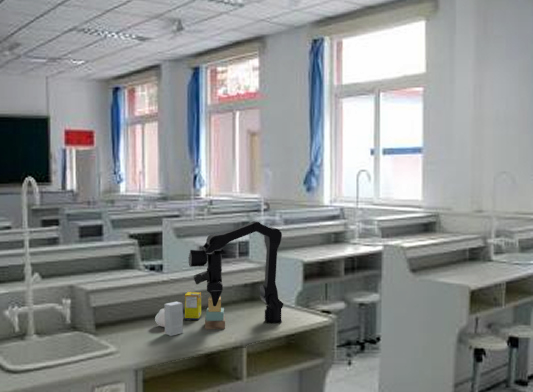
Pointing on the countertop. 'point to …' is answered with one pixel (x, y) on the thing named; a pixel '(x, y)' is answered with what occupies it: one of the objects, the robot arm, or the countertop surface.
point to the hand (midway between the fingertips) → (214, 303)
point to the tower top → (215, 315)
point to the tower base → (215, 324)
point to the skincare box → (173, 318)
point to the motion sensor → (160, 318)
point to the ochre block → (214, 308)
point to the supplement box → (192, 305)
